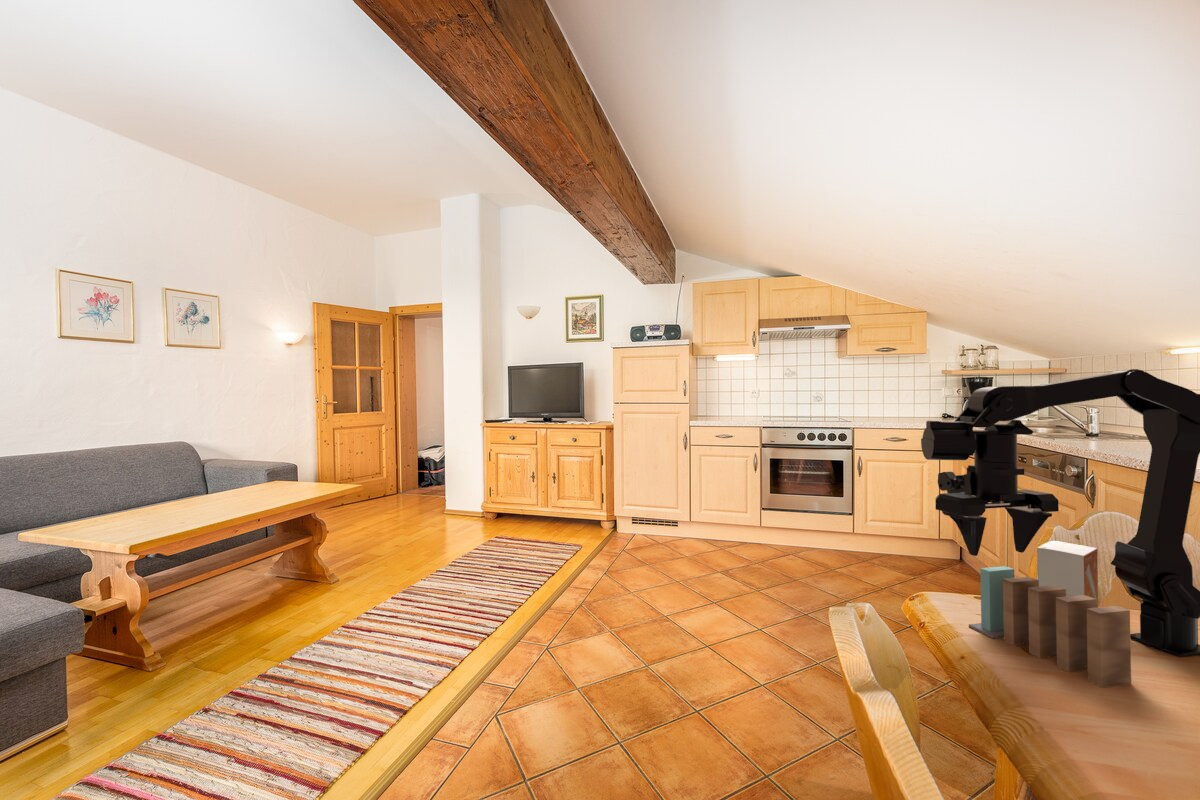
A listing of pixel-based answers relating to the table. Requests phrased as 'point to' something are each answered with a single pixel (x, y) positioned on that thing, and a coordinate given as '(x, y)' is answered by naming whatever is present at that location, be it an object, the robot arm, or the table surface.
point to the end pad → (991, 634)
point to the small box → (1068, 568)
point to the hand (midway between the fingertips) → (996, 553)
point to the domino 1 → (993, 596)
